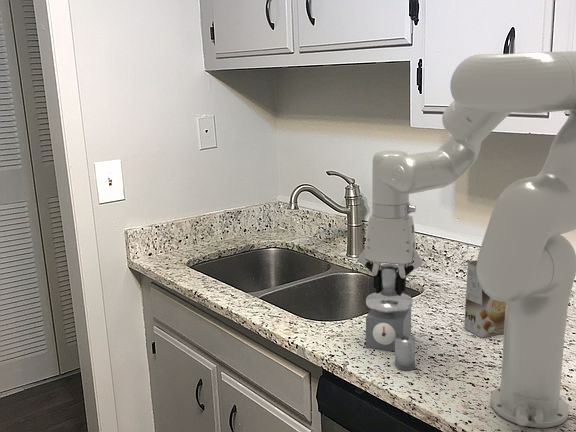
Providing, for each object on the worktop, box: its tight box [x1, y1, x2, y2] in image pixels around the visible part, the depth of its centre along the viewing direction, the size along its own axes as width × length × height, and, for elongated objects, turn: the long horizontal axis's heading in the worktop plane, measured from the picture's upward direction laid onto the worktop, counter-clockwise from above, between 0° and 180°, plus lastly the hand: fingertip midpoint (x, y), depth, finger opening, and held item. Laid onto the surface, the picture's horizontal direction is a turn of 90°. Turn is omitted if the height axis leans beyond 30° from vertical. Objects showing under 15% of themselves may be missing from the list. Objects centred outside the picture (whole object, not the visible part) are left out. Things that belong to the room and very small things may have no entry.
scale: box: [365, 307, 412, 352], centre depth 131 cm, size 11×8×7 cm
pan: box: [365, 292, 414, 313], centre depth 131 cm, size 10×10×2 cm
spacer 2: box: [394, 334, 416, 372], centre depth 120 cm, size 4×4×6 cm
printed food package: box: [463, 259, 507, 339], centre depth 135 cm, size 9×6×16 cm
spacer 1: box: [380, 263, 400, 296], centre depth 129 cm, size 4×4×6 cm
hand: (389, 291), depth 130 cm, fingers closed on spacer 1, 4 cm apart
